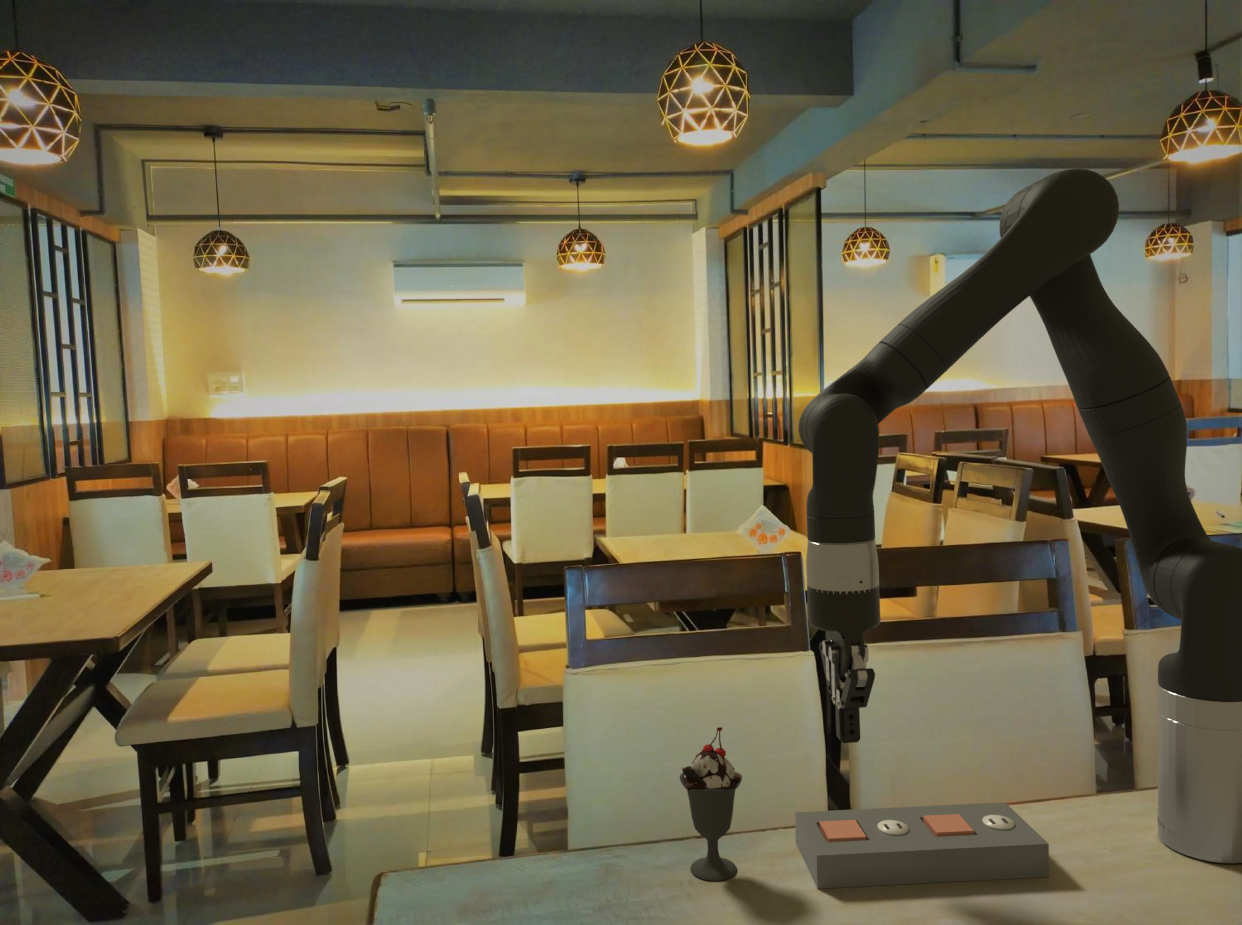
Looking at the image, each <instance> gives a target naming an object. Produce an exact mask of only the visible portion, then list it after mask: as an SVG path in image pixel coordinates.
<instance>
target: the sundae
mask: <svg viewBox="0 0 1242 925" xmlns="http://www.w3.org/2000/svg"><path fill="white" fill-rule="evenodd" d="M722 730H723V727H721V726H720V727H716V733H715V736H714V738H713V740H712V741H711V742H710V743H709V744H704V745H703V748H702V750H701V751H700V752H698V753H697V754H696V755H695V756H694V758H693V759H692V761H691V765H689V766H688V765H687V766H686V767H682V768H681V771H682V773H680V775H679V780H680V782H681V785H682V787H684V788H685V790H686V791H687V796H688V801H689V809H690V815H691V816H690V817H691V820H692V823H693V827H694V829H695V831H697V833H698V834H699V835H700V836H702V837H703V838H704V839H706V841H707V851H706V857H705V856H704V857H701V858H698V859H697V860H696V859H695V861H693V862H692V864H691V865H690V869H689V870H690V872H691V874H692V875H693V876H694V877H696V878H698V879H700V880H704V881H708V882H721V881H725V880H727V879H730V878H732V877H734V875H735V874H736V873H737V866H736V864H735V863H734V862H733V861H731V860H729V859H728V858H725V857H721V856H720V852H719V840H720V839H721V838H723V837H724V836H725V835H726V834H727V833H728V832H729V830H730V828H731V826H732V820H733V812H734V802H735V793H736V789H738V788H739V787H740V785H741V783H742V781H743V776H742V774H741V773H739V772H736V771H735V768H734V766H733V764H732V763H731V761H730V760H728V759H727V758H726V755H727V752H726V750H725V749H724V748H723V747H722V741H721V732H722ZM717 736H718V744H719V747H717V748H715V749H714V746H713V745H712V744H713V743H714V742H715V740H717Z"/></svg>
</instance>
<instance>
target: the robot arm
mask: <svg viewBox="0 0 1242 925" xmlns="http://www.w3.org/2000/svg"><path fill="white" fill-rule="evenodd" d="M1119 202H1120V201H1119V198H1118V194H1117V192H1116V189H1115V188H1114V186H1113V185H1112V183H1111V182H1110V181H1109V180H1108V179H1107V178H1106V177H1104V176H1103V175H1101V173H1098V172H1096V171H1093V170H1090V169H1085V168H1070V169H1064V170H1063V169H1062V170H1060V171H1056V172H1053V173H1051V174H1049V175H1047V176H1045V177H1043V178H1041V179H1039V180H1037V181H1035V182H1033V183H1032V184H1030V185H1027V186H1026V187H1024V188H1022V189H1020V190H1019V191H1017V192H1016V193H1014V194H1013V196H1012V197H1011V198H1010V199H1009V200H1008V201H1007V202H1006V204H1005V205H1004V207H1003V209H1002V211H1001V215H1000V219H999V237H1000V239H999V240H998V241H997V242H996V243H995V244H994V245H993V246H992V247H991V248H989V250H988V251H986V252H985V253H984V254H983V255H982V256H981V257H980V258H978V260H976V261H975V262H974V263H973V264H971V266H969V267H968V268H967V269H966V270H964V271H963V272H962V273H960V275H958V276H957V277H955V278H953V280H951V281H950V282H949V283H947V284H946V285H945V286H943V287H942V288H941V289H939V290H938V291H937V292H935V293H934V294H933V295H932V296H930V297H929V298H928V299H926V300H925V301H923V302H922V303H921V304H920V305H919V306H918V307H916V308H915V309H914V310H913V311H911V312H910V313H909V314H907V316H906V317H904V318H903V319H902V320H901V321H900V322H899V323H898V324H897V325H895V327H894V328H892V329H891V330H890V331H889V332H888V333H887V334H886V335H885V336H884V337H883V338H882V339H881V340H879V342H878V343H876V345H875V346H873V348H871V350H870V351H869V352H868V353H867V354H866V355H865V356H864V357H863V358H862V359H861V360H860V361H859V362H858V363H857V364H855V365H853V367H851V368H849V369H848V370H847V371H846V372H844V373H843V374H842V375H841V376H839V377H838V378H836V380H834V381H832V383H830V384H828V386H827V387H825V388H824V389H822V391H821V392H819V393H818V394H817V395H816V396H815V397H814V398H813V399H812V400H810V401H809V403H808V404H807V405H806V407H805V408H804V409H803V410H802V412H801V415H800V417H799V421H798V435H799V438H800V441H801V443H802V445H803V446H804V447H805V449H806V450H808V452H809V453H811V454H812V488H810V489H809V492H808V494H807V497H806V532H807V534H806V535H807V537H806V538H807V548H806V559H805V561H806V562H805V563H806V564H805V566H806V568H805V569H806V593H807V594H806V595H807V596H806V598H807V621H808V623H809V625H810V626H811V627H813V628H815V629H817V630H820V631H823V632H824V631H825V639H826V640H822V641H821V642H819V646H818V649H819V651H820V657H821V661H822V665H823V666H822V667H823V672H824V675H825V677H824V678H825V682H826V687H827V691H828V693H829V694H831V701H832V703H833V705H835V707H834V708H835V731H836V737H837V738H838V740H839V741H840V742H841V743H842V744H850V743H851V744H853V743H859V742H860V740H861V719H860V718H861V717H860V709H862V708H863V709H864V708H867V707H868V704H869V700H870V696H871V692H872V689H873V686H874V683H875V678H876V677H875V676H876V673H875V671H874V668H872V667H870V668H869V667H868V668H867V664H868V662H869V647H868V644H865V637H864V633H865V632H867V631H868V630H873V629H876V628H877V627H878V626H879V625H880V623H881V600H880V599H881V598H880V595H881V594H880V571H879V568H880V567H879V557H878V550H877V546H876V544H877V543H876V523H875V522H876V521H875V505H874V491H875V486H876V485H875V484H876V480H877V470H878V462H879V453H880V430H879V428H880V427H879V424H880V423H881V422H882V421H883V420H885V418H888V417H889V415H890V414H892V413H893V412H894V411H895V410H897V409H899V408H901V407H904V406H907V405H909V404H911V403H912V402H913V401H914V400H917V399H918V398H919V397H920V396H921V395H923V394H924V393H925V391H927V390H928V389H929V388H930V387H931V386H932V385H933V384H934V383H935V382H937V380H939V379H940V378H941V377H942V376H943V375H944V374H945V373H946V372H948V370H950V368H952V367H953V365H954V364H956V362H957V361H959V360H960V359H961V358H962V357H963V356H964V355H965V354H966V353H967V352H968V351H969V350H970V349H971V348H973V346H975V344H977V342H979V341H980V340H981V339H982V338H983V337H984V336H985V335H986V334H988V332H990V330H992V329H993V328H994V327H995V326H996V325H997V324H998V323H999V322H1000V321H1001V320H1002V319H1004V318H1005V317H1006V316H1008V314H1009V313H1011V312H1012V311H1013V310H1014V309H1015V308H1016V307H1018V306H1019V305H1020V304H1021V303H1023V302H1024V301H1025V300H1026V299H1028V298H1030V300H1031V301H1032V303H1033V305H1034V306H1035V309H1036V310H1037V313H1038V314H1039V317H1040V319H1041V320H1042V323H1043V325H1044V327H1045V329H1046V332H1047V334H1048V337H1049V340H1050V344H1051V345H1052V348H1053V350H1054V352H1055V355H1056V357H1057V359H1058V362H1059V365H1060V367H1061V369H1062V372H1063V374H1064V376H1065V378H1066V381H1067V384H1068V386H1069V389H1070V391H1071V394H1072V397H1073V400H1074V403H1075V405H1076V408H1077V410H1078V413H1079V414H1080V415H1079V416H1080V417H1081V419H1082V422H1083V424H1084V427H1085V429H1086V432H1087V434H1088V436H1089V438H1090V441H1091V442H1092V445H1093V447H1094V450H1095V452H1096V454H1097V456H1098V458H1099V460H1100V463H1101V465H1102V468H1103V470H1104V473H1105V475H1106V478H1107V480H1108V482H1109V483H1108V484H1110V487H1111V489H1112V492H1113V494H1114V496H1115V498H1116V501H1117V502H1118V505H1119V508H1120V510H1121V513H1122V515H1123V518H1124V521H1125V525H1126V528H1127V531H1128V535H1129V538H1130V543H1131V546H1132V549H1133V553H1134V556H1135V559H1136V563H1137V567H1138V571H1139V574H1140V576H1141V580H1142V583H1143V585H1144V588H1145V591H1146V593H1147V594H1148V597H1149V598H1150V599H1151V601H1152V602H1153V603H1154V605H1156V606H1157V607H1158V608H1159V609H1160V610H1161V611H1162V612H1164V613H1166V614H1168V615H1170V616H1171V617H1173V618H1176V619H1179V620H1181V621H1180V622H1181V623H1180V624H1181V625H1180V626H1181V627H1180V638H1179V640H1180V641H1179V647H1178V650H1177V652H1172V653H1169V654H1165V655H1164V656H1162V657H1161V658H1160V660H1159V662H1158V665H1157V666H1158V667H1157V820H1156V821H1157V837H1158V839H1159V840H1160V841H1161V842H1162V843H1163V844H1164V845H1165V846H1167V847H1168V848H1170V849H1171V850H1173V851H1176V852H1178V853H1179V854H1182V855H1186V856H1188V857H1191V858H1194V859H1197V860H1200V861H1201V860H1202V861H1207V862H1211V863H1220V864H1242V547H1240V546H1236V545H1232V544H1227V543H1223V542H1219V541H1213V540H1212V539H1211V538H1210V537H1209V535H1208V534H1207V532H1206V530H1205V529H1204V526H1203V525H1202V522H1201V521H1200V519H1199V517H1198V515H1197V512H1196V510H1195V507H1194V506H1193V505H1194V504H1193V503H1192V500H1191V497H1190V495H1189V492H1188V488H1187V483H1186V482H1187V481H1186V459H1187V447H1188V423H1187V419H1186V415H1185V412H1184V408H1183V406H1182V402H1181V400H1180V398H1179V395H1178V393H1177V390H1176V387H1175V385H1174V383H1173V380H1172V379H1171V376H1170V373H1169V371H1168V368H1167V367H1166V365H1165V363H1164V361H1163V360H1162V358H1161V356H1160V355H1159V353H1158V352H1157V351H1156V349H1155V348H1154V347H1153V346H1152V344H1151V343H1150V342H1149V341H1148V339H1146V337H1145V336H1144V335H1143V334H1142V332H1140V331H1139V330H1138V328H1136V327H1135V326H1134V325H1133V323H1132V322H1131V321H1130V320H1129V318H1127V317H1126V316H1125V315H1124V314H1123V313H1122V312H1121V311H1120V309H1119V308H1118V307H1117V306H1116V305H1115V304H1114V302H1113V301H1112V300H1111V298H1110V297H1109V295H1108V293H1107V291H1106V289H1105V288H1104V286H1103V284H1102V281H1101V280H1100V276H1099V274H1098V271H1097V269H1096V266H1095V263H1094V261H1093V259H1092V258H1093V257H1092V254H1093V253H1095V252H1096V251H1097V250H1098V249H1099V248H1100V247H1102V246H1103V245H1104V244H1105V243H1106V242H1107V241H1108V239H1109V238H1110V237H1111V235H1112V233H1113V232H1114V231H1115V227H1116V226H1117V223H1118V218H1119V216H1120V215H1119V214H1120V203H1119Z"/></svg>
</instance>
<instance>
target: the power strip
mask: <svg viewBox="0 0 1242 925" xmlns="http://www.w3.org/2000/svg"><path fill="white" fill-rule="evenodd" d="M949 814H959V815H960V816H961V817H962V818H963V819H964V820H965V821H966V822H967V823H968V825H969V826H970V827H971V828H972V829H973V830H974V835H960V836H940V837H935V836H934V835H933V834H932V832H931V831H930V830H929V829H928V827H927V826H926V825H925V824H924V823H923V816H928V815H949ZM794 817H795V818H794V825H795V826H794V829H795V831H794V832H795V844H796V847H797V848H798V851H799V852H800V855H801V857H802V859H803V861H804V863H805V866H806V867H807V870H808V872H809V874H810V876H811V878H812V880H813V882H814V884H815V886H816V889H818V890H819V889H837V888H840V889H841V888H842V889H843V888H857V887H859V888H860V887H861V888H862V887H877V886H878V887H881V886H899V885H914V884H915V885H916V884H917V885H918V884H937V883H938V884H939V883H955V882H956V883H957V882H975V881H976V882H978V881H994V880H1011V879H1014V880H1015V879H1033V878H1049V877H1050V861H1049V860H1050V854H1049V853H1050V848H1049V846H1050V843H1048V842H1047V841H1046V840H1045V838H1043V837H1042V836H1041V835H1040V834H1039V833H1038V832H1037V831H1036V830H1035V829H1034V828H1032V826H1031V825H1030V824H1028V823H1027V821H1025V820H1024V819H1023V817H1021V816H1020V815H1019V814H1018V813H1017V812H1016V811H1015V810H1014V809H1013V808H1012V807H1010V805H1008V803H1007V802H1005V801H1004V802H1003V801H1001V802H980V803H978V802H977V803H960V804H959V803H958V804H943V805H937V804H935V805H921V806H919V805H918V806H900V807H899V806H897V807H880V808H879V807H878V808H877V807H876V808H861V809H859V808H858V809H855V808H854V809H838V810H817V811H816V810H815V811H798V812H794ZM840 820H856V822H857V823H858V825H859V826H860V828H861V829H862V831H863V832H864V834H865V835H866V840H860V841H840V842H826V840H825V838H824V837H823V835H822V833H821V831H820V829H819V822H820V821H840Z"/></svg>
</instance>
